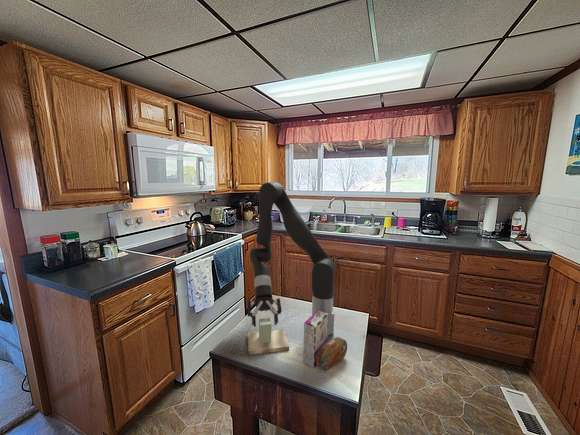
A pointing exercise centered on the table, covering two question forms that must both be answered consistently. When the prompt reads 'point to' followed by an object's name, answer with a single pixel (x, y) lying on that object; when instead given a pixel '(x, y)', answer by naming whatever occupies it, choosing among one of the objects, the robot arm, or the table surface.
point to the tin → (331, 353)
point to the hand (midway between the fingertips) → (265, 325)
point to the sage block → (265, 330)
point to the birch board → (275, 345)
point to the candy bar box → (315, 336)
